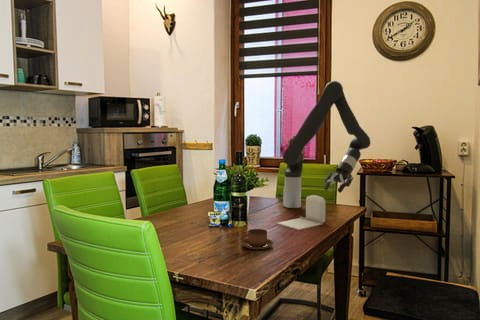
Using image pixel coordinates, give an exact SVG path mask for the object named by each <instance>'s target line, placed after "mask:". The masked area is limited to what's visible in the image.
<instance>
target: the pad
mask: <svg viewBox="0 0 480 320" xmlns="http://www.w3.org/2000/svg"><path fill="white" fill-rule="evenodd" d="M276 224H277V225H279V226H284V227H287V228H291V229H294V230H297V231H300V230H304V229H310V228H314V227H318V226H323V224H324V222H321V221H317V220H313V219H309V218H306V216H299V218H294V219H293V218H292V219H288V220H285V221H284V220H283V221H280V222H276Z"/></svg>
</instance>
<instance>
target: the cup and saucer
mask: <svg viewBox="0 0 480 320" xmlns="http://www.w3.org/2000/svg"><path fill="white" fill-rule="evenodd" d="M245 236H246V237H247V238H245ZM244 238H245V239H244ZM241 240H242V241H241V245H242V246H243V247H245V248H247V249H250V250H255V249H256V250H257V251H258V250H259V249H261V250H267V249H270V248H271V247H272V246H273V245H274V241H272V240H271V239H268V231H267V230H266V229H262V228H261V229H260V228H253V229H249V230H248V231H247V233H244V234H242V236H241ZM247 244H249V245H250V246H252V247H250V246H246V245H247ZM266 244H267V245H268V246H266V247H263V246H265V245H266Z"/></svg>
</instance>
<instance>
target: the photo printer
mask: <svg viewBox="0 0 480 320" xmlns="http://www.w3.org/2000/svg"><path fill="white" fill-rule="evenodd" d="M305 218H309V219H313V220H317V221H321V222H323V223H325V221H326V200H325V198H324V197H322V196H320V195H316V194H311V195H308V196H307V197H306V199H305Z"/></svg>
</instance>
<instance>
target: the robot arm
mask: <svg viewBox="0 0 480 320" xmlns="http://www.w3.org/2000/svg"><path fill="white" fill-rule="evenodd" d="M333 105H334V106H335V107H336V110H337V112H338V115H339V117H340V120H341V122H342V124H343V126H344V129H345V130H346V132H347V134H348V135H349V136H354V138H352V140H350V143H349V144H348V149H347V151H346V153H345V155H344V156H343V158H341V161H340V162H339V164H338V165H337V167H336V169H335V172H334V173H332V172H331V171H330V172H329V173H328V174H327V175H326V177H325V178H324V182H325V184H324V186H323V189H324V190H325V191H328V190H329V188H330V186H331V185H332V184H335V183H340V185H339V187H338V188H337V192H338V193H339V194H340V193H342V192H343V191H344V189H345V188H346V187H347V188H349V187H350V186H351V184H352V182H353V180H354V176H353V175H352V173H353V171H354V169H355V168H356V166H357V163H358V161H359V160H360V158H361V155H362V153H361V150H366V149H368V148H369V147H370V145H371V138H370V136H369V135H368V134H367V132H365V130H364V129H363V128H362V127H361V125H360V123H359V122H358V120H357V118H356V116H355V113H354V112H353V110H352V109H351V107H350V105H349V103H348V101H347V98H346V96H345V92H344V87H343V85H342V83H340V82H339V81H336V80H331V81H329V82H328V83H326V85H325V87H324V90H323V91H322V93H321V95H320V97H319V99H318V101H317V102H316V104H315V106H314V107H313V108H312V109H311V110H310V112H309V113H308V114H307V115H306V118H304V119H305V120H304V121H303V122H302V124H301V126H300V128H299V129H298V131H297V133H296V134H295V137H294V138H293V140H292V141H291V143H290V144H289V145H288V146H287V147H286V149H285V151H284V152H283V154H282V160H283V162H284V163H285V164H286V169H285V171H284V189H283V191H282V198H283V199H282V206H283V207H285V208H289V209H299V208H301V206H302V199H301V198H302V172H303V166H304V165H303V163H304V156H303V150H304V148H305V147H306V146H307V144H308V143H310V141H311V140H313V139H314V137H315V136H316V135H317V134H318V132H319V130H320V129H321V127H322V126H323V124H324V122H325V120H326V118H327V116H328V114H329V112H330V110H331V108H332V107H333Z"/></svg>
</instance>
